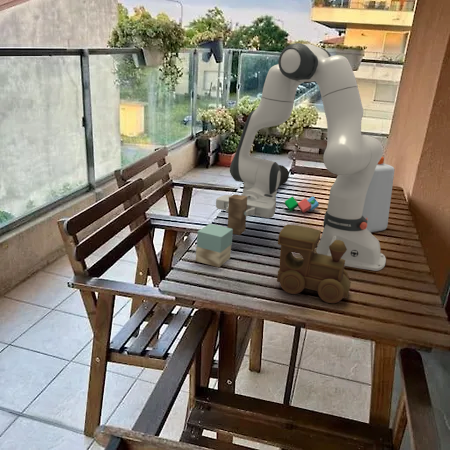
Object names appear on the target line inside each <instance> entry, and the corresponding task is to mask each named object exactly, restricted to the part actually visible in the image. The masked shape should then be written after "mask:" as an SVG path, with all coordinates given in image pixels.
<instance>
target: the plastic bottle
mask: <svg viewBox="0 0 450 450" xmlns="http://www.w3.org/2000/svg"><path fill="white" fill-rule="evenodd" d="M384 161H385V157H384V156H382V157H381V159H380V161H379V162H378V164H377V166H376V168H375V171H374V174H373V177H372V179H371V182H370V184H369V187H368V190H367V193H366V197H365V202H364V207H363V212H362V216H363V217H364V218H365V219H366V218H367V219H368V220H367V221H368V222H367V227H366V229H367V230H368V231H369V232H370V233H375V232H381V231H382V232H383V231H386V229H387V228H388V224H389V216H390V207H391V201H392V200H391V199H392V194H393V185H394V178H395V177H394V176H395V167H394V166H392V165H390V164H388V163H384Z"/></svg>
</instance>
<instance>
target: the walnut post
mask: <svg viewBox="0 0 450 450" xmlns="http://www.w3.org/2000/svg"><path fill="white" fill-rule="evenodd" d="M231 195H232V194H231ZM245 209H246V210H247V196H242V195H240V194H236V193H235V194H233V195H232V196H231V197H229V207H228V213H227V228H231V229H233V235H237V236H241V235H242V234H243V233H245V232H246V225H247V224H246V223H247V216H243V210H245Z"/></svg>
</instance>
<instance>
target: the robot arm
mask: <svg viewBox="0 0 450 450" xmlns="http://www.w3.org/2000/svg"><path fill="white" fill-rule="evenodd" d="M311 83H316V85H317V86H318V88H319V91H320V96H321V97H320V98H321V100H322V101H321V102H322V105H323V109H324V115H325V119H326V126H327V142H326V143H327V145H326V148H325V150H324V153H323V156H322V157H323V164H324V166H325V168H326V169H327V171H328V172H330V173H332V174H334V175H337V177H336V179H335V180H334V182H333V184H332V185H331V187H330V189H329V190H330V191H329V194H328V195H329V196H328V203H327V209H326V211H325V213H324V216H323V217H324V218H323V223H322V224H323V226H322V227H323V230H322V232H321V235H320V240H319V243H318V245H317V246H316V248H315V252H316V253H317V254H323V255H328V256H331V252H330V249H329V246H330V245H331V244H332V243H333V242H334V241H335V240H341V241H343V242H344V244H345V246H346V248H347V250H346V252H345V253H344V255H343V256H342V257H341V259H344V260H345V265H344V267H350V268H357V269H363V270H368V271H369V270H370V271H373V272H374V271H381V270H382V269H384V267H385V266H386V262H387V261H386V260H387V258H386V256H385V254H383V253H382V252H381V245H380V244H381V243H380V241H379V239H378V238H376V236H374V235H373V233H372V232H369V231H368V230H367V229H366V227H367V222H368V221H367V220H368V219H367V218H366V219H365V218H364V217H363V216H362V212H363V207H364V202H365V197H366V193H367V190H368V187H369V184H370V182H371V179H372V177H373V174H374V171H375V168H376V166H377V164H378V162H379V161H380V159H381V157H383V154H384V148H383V145H382V143H381V141H380V140H379V139H377V138H376V137H374V136H370V135H366V134H362V120H363V117H364V107H363V103H362V100H361V99H362V98H361V94H360V90H359V87H358V82H357V78H356V75H355V73H354V70H353V68H352V66H351V63H350V61H349V60H348V58H347V57H345V56H343V55H340V54H338V55H337V54H336V55H331V53H330V52H329V51H328V49H327V50H326V49H325V48H323V47H321V46H320V47H319V46H316V45H314V44H309V43H301V42H294V43H291V44H289V45H287V46H285V47H284V48H283V49H282V50H281V52H280V54H279V56H278V62H277V64H275V65H273V66H271V67H270V68H269V70H268V72H267V75H266V77H265V81H264V83H263V87H262V93H261V97H260V101H259V104H258V106H257V107H256V108H255V109H254V110H252V111H250V113H249V114H248V117H247V119H246V122H245V124H244V127H243V129H242V133H241V137H240V139H239V142H238V145H237V148H236V151H235V153H234V156H233V158H232V161H231V163H230V166H229V174H230V175H231V177H232V178H233V180H234V181H235V182H240V183H243V184H244V183H245V182H246V183H250V184H253V185H254V187H253V188H250V189H249V190H247V191H245V192H244V193H243V192H242V193H241V195H242V196H247V210H246V209H245V210H243V216H246V217H248V216H253V217H254V216H256V217H260V218H266V219H272V218H273V217H274V216H275V214H276V210H277V209H276V208H277V198H276V197H277V193H278V189H279V188H280V187H281V186H280V182H281V177H282V172H281V169H280V167H279V165H280V164H278V163H277V162H276V161H272V160H268V159H263V158H259V157H256V156H252V155H251V154H250V152H251V149H252V146H253V143H254V140H255V137H256V135H257V133H258V132H259V131H260V130H261V129H265V128H271V127H276V126H280V125H282V124H284V123H286V122H287V121H288V120H289V119H290V117H291V115H292V111H293V108H294V104H295V99H296V93H297V89H298V87H299V86H300V85H301V84H311ZM279 186H280V187H279ZM231 196H232V194H224V195H221V196H219V197H217V198H216V200H215V201H216V202H215V207H216V209H218V210H223V211H225V212H226V213H227V214H228V207H229V197H231Z"/></svg>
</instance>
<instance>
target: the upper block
mask: <svg viewBox="0 0 450 450" xmlns="http://www.w3.org/2000/svg"><path fill="white" fill-rule="evenodd" d="M196 235H197V237H196V238H197V239H196V247H200V248H204V249H208V250H212V251H216V252H219V253H221V252H222V251H223V250H225V249H226V248H227V247H229V246H230V245H231V246H232V244H233V235H234V234H233V229H231V228H228V227H226V226H222V225H219V224H213V223H209V224H207V225H205V226H203V227H202V228H201V229H199V230H197V233H196Z"/></svg>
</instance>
